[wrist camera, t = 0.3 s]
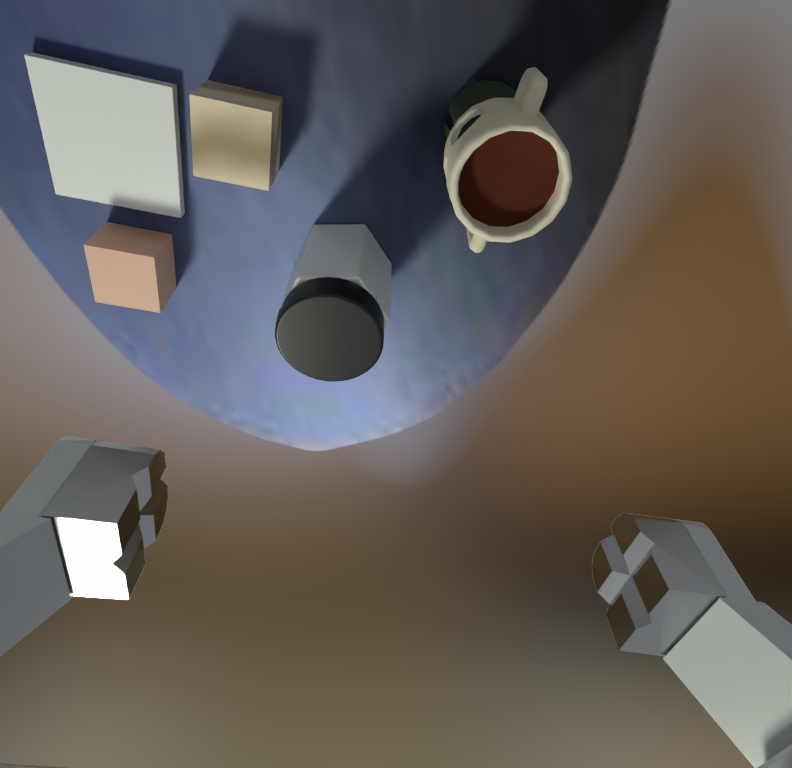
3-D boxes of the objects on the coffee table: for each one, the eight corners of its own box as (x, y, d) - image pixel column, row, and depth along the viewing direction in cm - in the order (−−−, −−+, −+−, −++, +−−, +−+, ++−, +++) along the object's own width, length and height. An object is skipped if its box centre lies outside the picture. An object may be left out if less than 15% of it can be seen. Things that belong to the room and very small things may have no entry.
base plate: (31, 52, 37) (24, 54, 36) (176, 84, 38) (172, 87, 38) (61, 189, 44) (55, 194, 43) (184, 213, 45) (181, 217, 44)
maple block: (208, 79, 38) (189, 94, 35) (283, 96, 39) (272, 112, 36) (210, 155, 42) (193, 175, 39) (279, 170, 43) (268, 190, 39)
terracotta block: (107, 221, 46) (83, 244, 42) (172, 233, 46) (154, 257, 43) (116, 276, 49) (95, 301, 46) (176, 286, 50) (160, 312, 46)
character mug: (463, 27, 36) (486, 64, 26) (558, 57, 37) (614, 103, 27) (419, 181, 43) (424, 256, 33) (500, 203, 44) (529, 281, 34)
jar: (276, 246, 47) (246, 321, 38) (352, 200, 44) (339, 270, 35) (334, 318, 52) (320, 400, 43) (405, 281, 49) (406, 360, 40)
